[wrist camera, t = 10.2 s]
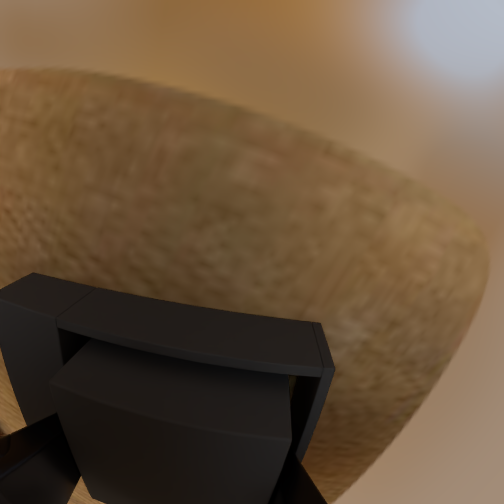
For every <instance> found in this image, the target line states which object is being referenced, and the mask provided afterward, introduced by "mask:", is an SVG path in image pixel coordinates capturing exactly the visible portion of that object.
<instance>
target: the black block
mask: <svg viewBox="0 0 504 504" xmlns="http://www.w3.org/2000/svg"><path fill="white" fill-rule="evenodd" d="M49 386H50V389H51V393H52V397H53V400H54V403H55V407H56V410H57V413H58V416H59V419H60V422H61V425H62V428H63V431H64V434H65V437H66V439H67V442H68V445H69V447H70V450H71V453H72V455H73V458H74V460H75V462H76V465H77V467H78V469H79V472H80V474H81V476H82V479H83V481H84V483H85V485H86V487H87V489H88V491H89V493H90V495H91V497H92V498H93V499H96V500H98V501H101V502H103V503H106V504H268V503H269V501H270V498H271V496H272V493H273V491H274V488H275V486H276V483H277V480H278V478H279V475H280V472H281V470H282V467H283V464H284V461H285V459H286V456H287V453H288V450H289V447H290V444H291V441H292V430H291V411H290V393H289V376H288V375H287V374H278V373H269V372H261V371H253V370H246V369H238V368H232V367H225V366H219V365H213V364H207V363H201V362H195V361H190V360H185V359H179V358H174V357H169V356H165V355H160V354H155V353H151V352H146V351H142V350H138V349H133V348H129V347H125V346H121V345H117V344H113V343H109V342H106V341H102V340H98V339H95V338H91V339H90V340H89V341H88V342H87V343H86V344H85V345H84V346H83V347H82V348H81V349H80V350H79V351H78V352H77V353H76V354H75V355H74V356H73V357H72V358H71V359H70V360H69V361H68V362H67V363H66V364H65V365H64V366H63V367H62V368H61V369H60V370H59V371H58V372H57V373H56V375H55V376H54V377H53V378H52V379H51V380H50V381H49Z"/></svg>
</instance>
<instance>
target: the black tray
mask: <svg viewBox="0 0 504 504" xmlns="http://www.w3.org/2000/svg"><path fill="white" fill-rule="evenodd" d="M91 338H95V339H98V340H102V341H106V342H109V343H113V344H117V345H121V346H125V347H129V348H133V349H138V350H142V351H146V352H151V353H155V354H160V355H165V356H169V357H174V358H179V359H185V360H190V361H195V362H201V363H207V364H213V365H219V366H225V367H232V368H238V369H246V370H253V371H261V372H269V373H278V374H287V375H298V380H297V384H296V387H295V391H294V395H293V399H292V402H291V406H290V411H291V430H292V441H291V444H290V446H291V448H292V450H293V451H294V453H295V454H296V456H297V458H298V459H299V461H300V462H302V460H303V458H304V455H305V453H306V450H307V448H308V445H309V443H310V440H311V438H312V435H313V432H314V430H315V427H316V424H317V422H318V419H319V416H320V413H321V411H322V408H323V405H324V402H325V399H326V396H327V393H328V390H329V387H330V384H331V381H332V378H333V375H334V372H335V366H334V363H333V360H332V357H331V353H330V350H329V347H328V344H327V341H326V338H325V335H324V332H323V329H322V326H321V323H315V322H312V323H311V322H306V321H298V320H289V319H281V318H273V317H266V316H258V315H251V314H244V313H237V312H230V311H224V310H217V309H211V308H204V307H198V306H192V305H186V304H181V303H175V302H169V301H164V300H158V299H153V298H147V297H142V296H137V295H132V294H127V293H122V292H117V291H112V290H107V289H103V288H96V287H92V286H88V285H83V284H79V283H74V282H70V281H66V280H61V279H57V278H53V277H49V276H45V275H41V274H37V273H31V274H29V275H27V276H25V277H23V278H21V279H19V280H17V281H15V282H14V283H12V284H10V285H8V286H6V287H4V288H2V289H0V348H1V351H2V355H3V359H4V362H5V366H6V369H7V372H8V375H9V379H10V382H11V385H12V388H13V391H14V393H15V396H16V399H17V402H18V404H19V407H20V410H21V412H22V415H23V417H24V420H25V422H26V424H27V426H29V425H31V424H33V423H35V422H37V421H39V420H42V419H44V418H46V417H48V416H50V415H52V414H54V413H56V412H57V410H56V407H55V403H54V400H53V397H52V393H51V389H50V386H49V381H50V380H51V379H52V378H53V377H54V376H55V375H56V373H57V372H58V371H59V370H60V369H61V368H62V367H63V366H64V365H65V364H66V363H67V362H68V361H69V360H70V359H71V358H72V357H73V356H74V355H75V354H76V353H77V352H78V351H79V350H80V349H81V348H82V347H83V346H84V345H85V344H86V343H87V342H88V341H89V340H90V339H91Z"/></svg>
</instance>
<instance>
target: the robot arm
mask: <svg viewBox="0 0 504 504" xmlns="http://www.w3.org/2000/svg"><path fill="white" fill-rule="evenodd" d="M80 477H81V474H80V472H79V469H78V467H77V465H76V462H75V460H74V458H73V455H72V453H71V450H70V447H69V445H68V442H67V439H66V437H65V434H64V431H63V428H62V425H61V422H60V419H59V416H58V413H57V412H56V413H54V414H52V415H50V416H48V417H46V418H44V419H42V420H39V421H37V422H35V423H33V424H31V425H29V426H26V427H24V428H22V429H20V430H18V431H15V432H13V433H11V434H8V435H6V436H4V437H2V438H0V504H67V503H68V501H69V499H70V497H71V495H72V493H73V491H74V489H75V487H76V485H77V483H78V481H79V479H80ZM268 504H327V502H326V501H325V499H324V498H323V496H322V495H321V493H320V492H319V490H318V489H317V487H316V486H315V484H314V483H313V481H312V480H311V478H310V476H309V475H308V473H307V472H306V470H305V469H304V467H303V466H302V464H301V462H300V461H299V459H298V458H297V456H296V454H295V453H294V451H293V450H292V448H291V446H290V447H289V450H288V453H287V456H286V459H285V461H284V464H283V467H282V470H281V472H280V475H279V478H278V480H277V483H276V486H275V488H274V491H273V493H272V496H271V498H270V501H269V503H268Z"/></svg>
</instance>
